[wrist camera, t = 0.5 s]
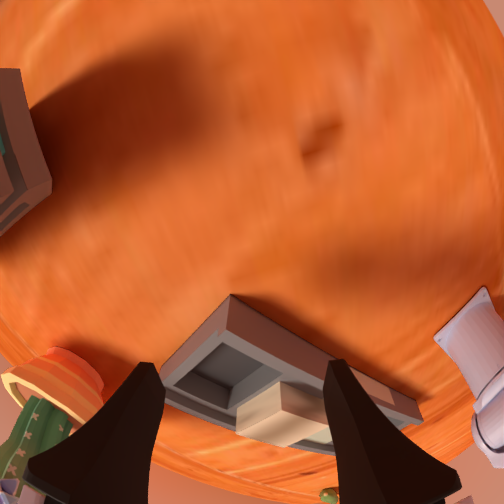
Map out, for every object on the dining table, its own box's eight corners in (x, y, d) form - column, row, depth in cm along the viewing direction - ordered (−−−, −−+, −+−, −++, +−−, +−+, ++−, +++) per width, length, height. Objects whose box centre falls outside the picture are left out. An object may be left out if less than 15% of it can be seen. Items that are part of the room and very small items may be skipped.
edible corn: (337, 497, 47) (322, 504, 46) (342, 502, 56) (329, 507, 55) (330, 483, 52) (315, 490, 51) (336, 491, 60) (324, 497, 60)
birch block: (325, 400, 23) (329, 425, 20) (282, 424, 25) (283, 447, 22) (279, 381, 21) (281, 410, 19) (237, 408, 23) (235, 433, 21)
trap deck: (415, 400, 29) (423, 421, 26) (352, 438, 34) (356, 458, 30) (230, 294, 21) (225, 329, 17) (161, 366, 25) (152, 396, 21)
